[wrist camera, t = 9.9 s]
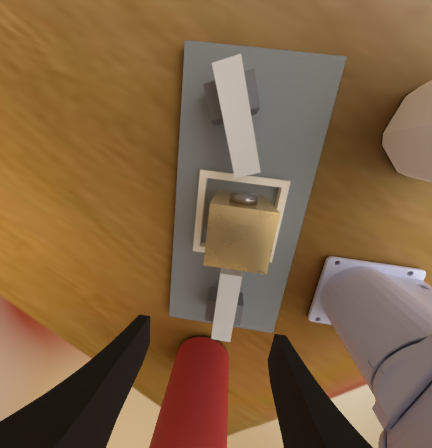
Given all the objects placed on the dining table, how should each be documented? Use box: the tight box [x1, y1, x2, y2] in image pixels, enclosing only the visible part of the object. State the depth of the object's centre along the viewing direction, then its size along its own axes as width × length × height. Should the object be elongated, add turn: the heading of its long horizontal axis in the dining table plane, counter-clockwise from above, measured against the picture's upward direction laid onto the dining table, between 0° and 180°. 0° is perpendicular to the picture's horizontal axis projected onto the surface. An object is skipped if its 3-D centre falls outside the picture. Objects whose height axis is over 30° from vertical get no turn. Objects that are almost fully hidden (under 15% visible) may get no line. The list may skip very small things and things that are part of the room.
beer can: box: [149, 336, 229, 448], centre depth 20 cm, size 7×7×12 cm
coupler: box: [203, 190, 280, 274], centre depth 16 cm, size 4×6×6 cm
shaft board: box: [169, 40, 347, 342], centre depth 17 cm, size 12×26×5 cm, turn 173°
